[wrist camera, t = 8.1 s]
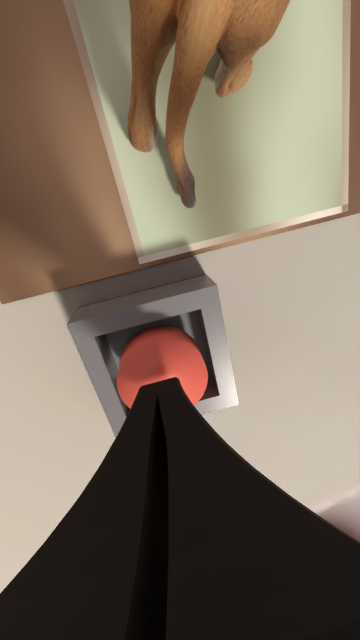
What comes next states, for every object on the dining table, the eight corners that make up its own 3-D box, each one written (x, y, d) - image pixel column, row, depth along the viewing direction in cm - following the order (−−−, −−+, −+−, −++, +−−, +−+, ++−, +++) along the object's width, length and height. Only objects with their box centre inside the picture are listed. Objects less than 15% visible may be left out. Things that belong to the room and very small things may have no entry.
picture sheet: (440, -456, 6) (443, -462, 6) (393, 203, 12) (394, 203, 12) (-317, -313, 6) (-321, -319, 6) (3, 303, 12) (2, 304, 12)
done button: (191, 315, 11) (198, 330, 10) (207, 384, 13) (215, 405, 11) (108, 337, 11) (103, 354, 10) (133, 404, 13) (132, 427, 11)
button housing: (206, 274, 12) (217, 284, 10) (227, 380, 15) (238, 404, 13) (78, 307, 12) (66, 324, 10) (119, 409, 14) (115, 438, 13)
